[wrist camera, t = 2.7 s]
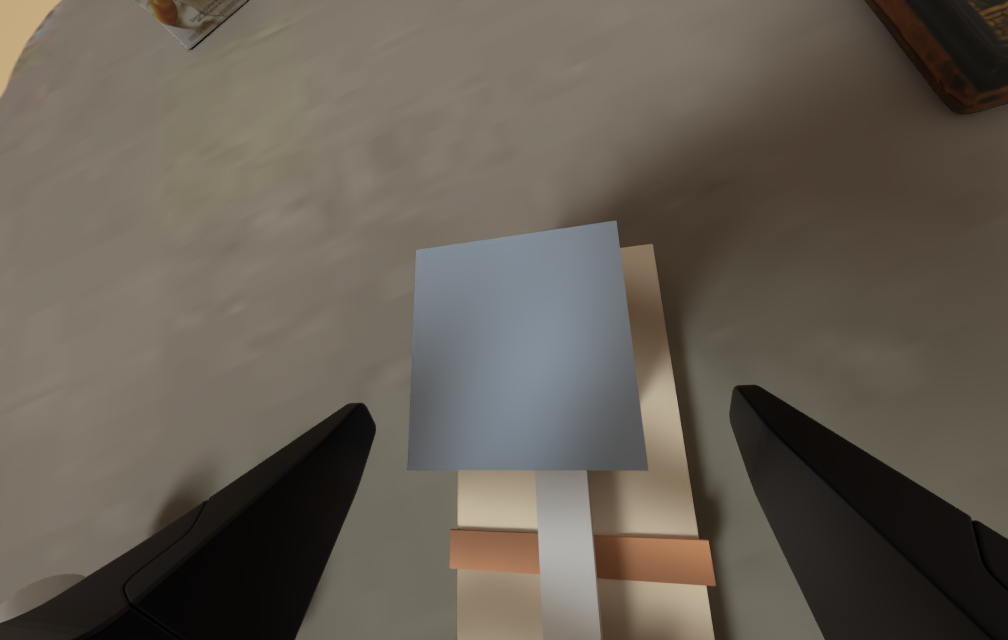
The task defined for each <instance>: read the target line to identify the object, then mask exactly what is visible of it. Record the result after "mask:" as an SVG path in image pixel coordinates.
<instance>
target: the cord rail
mask: <svg viewBox="0 0 1008 640" xmlns="http://www.w3.org/2000/svg"><path fill="white" fill-rule="evenodd" d="M620 252H621V260H622V268H623V276H624V283H625V291H626V299H627V307H628V314H629V322H630V330H631V338H632V345H633V353H634V361H635V369H636V376H637V384H638V392H639V400H640V407H641V415H642V423H643V431H644V439H645V446H646V454H647V462H648V470H649V471H616V470H458V529H451V530H450V568H452V569H458V581H457V640H715V638H714V632H713V626H712V619H711V613H710V606H709V600H708V594H707V587H706V586H716V583H715V577H714V571H713V565H712V559H711V552H710V546H709V541H708V540H707V539H699V536H698V530H697V523H696V517H695V511H694V504H693V498H692V491H691V485H690V479H689V472H688V466H687V460H686V453H685V447H684V440H683V434H682V428H681V421H680V415H679V409H678V402H677V396H676V389H675V383H674V377H673V370H672V364H671V357H670V351H669V345H668V338H667V332H666V326H665V319H664V313H663V306H662V300H661V294H660V287H659V281H658V274H657V268H656V262H655V255H654V249H653V244H646V245H639V246H631V247H624V248H620Z"/></svg>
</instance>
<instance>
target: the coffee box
mask: <svg viewBox="0 0 1008 640" xmlns="http://www.w3.org/2000/svg"><path fill="white" fill-rule="evenodd" d="M136 1H137V2H138V3H139V4H140V5H141V6H142V7H143V8H145V9H146V10H147V11H148V12H149V13H150V14H151V15H152V16H153V17H154V18H156V19H157V20H158V21H159V22H160V23H161V24H162V25H163V26H164V27H165V28H166V29H167V30H168V31H170V32H171V33H172V34H173V35H174V36H175V37H176V38H177V39H178V40H179V41H180V42H181V43H182V44H183V45H184V46H185V47H186V49H188V50H189V49H191V48H192V47H193V46H195V45H196V44H197V43H198V42H199V41H200V40H202V39H203V38H204V37H205V36H206V35H208V34H209V33H210V32H211V31H212V30H214V29H215V28H216V27H217V26H218V25H220V24H221V23H222V22H223V21H224V20H225V19H227V18H228V17H229V16H230V15H231V14H233V13H234V12H235V11H236V10H237V9H238V8H240V7H241V6H242V5H243V4H244V3H246V2H247V1H248V0H136Z"/></svg>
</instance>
